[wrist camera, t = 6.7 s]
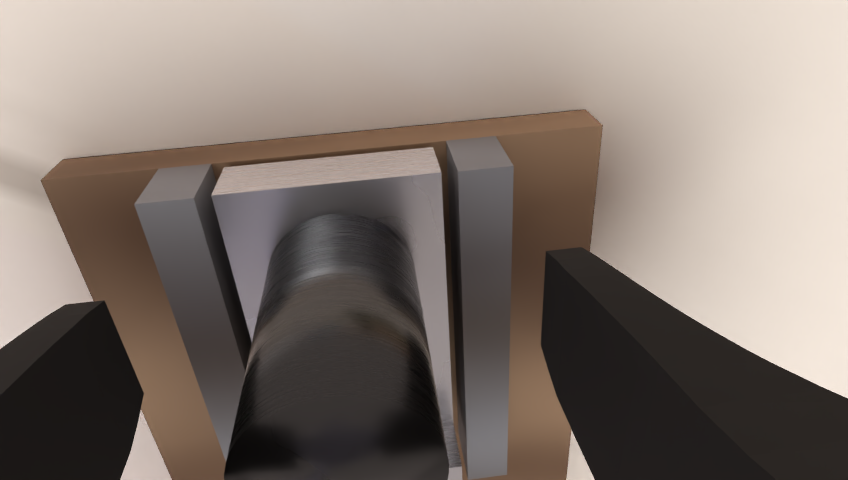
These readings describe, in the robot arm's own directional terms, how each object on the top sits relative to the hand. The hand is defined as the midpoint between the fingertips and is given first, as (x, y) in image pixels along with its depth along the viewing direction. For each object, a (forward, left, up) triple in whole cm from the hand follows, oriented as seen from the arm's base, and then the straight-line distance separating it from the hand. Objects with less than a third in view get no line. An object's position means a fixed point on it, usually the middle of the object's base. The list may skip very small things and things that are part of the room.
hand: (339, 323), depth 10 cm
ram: (-2, 0, -3) cm, 3 cm away
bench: (-8, 0, -4) cm, 9 cm away
